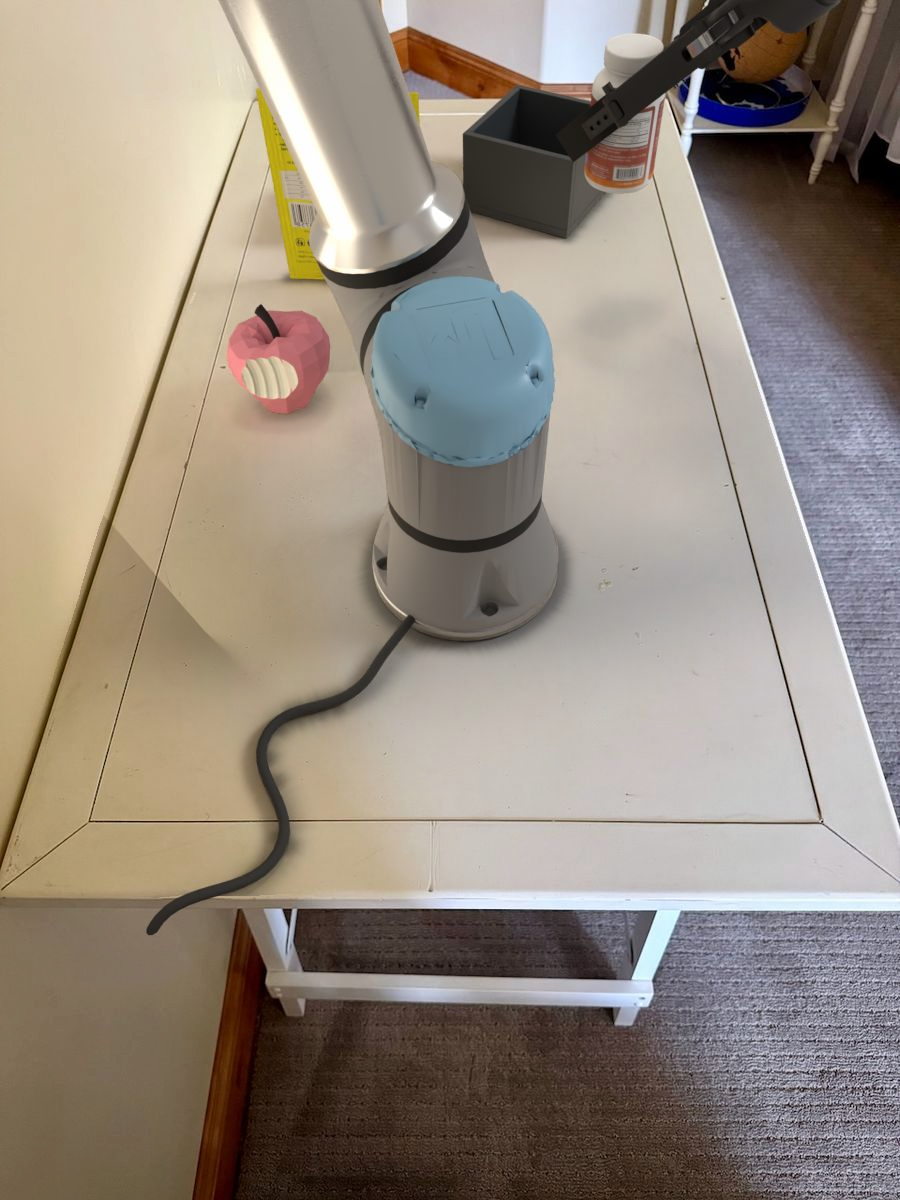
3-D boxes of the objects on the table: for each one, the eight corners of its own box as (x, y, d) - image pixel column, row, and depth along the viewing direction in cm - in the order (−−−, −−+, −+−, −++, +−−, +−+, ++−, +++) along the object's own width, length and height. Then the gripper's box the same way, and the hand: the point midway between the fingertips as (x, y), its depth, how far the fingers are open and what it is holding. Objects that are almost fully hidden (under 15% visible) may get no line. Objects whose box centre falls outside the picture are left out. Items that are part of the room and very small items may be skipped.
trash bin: (566, 238, 104) (573, 161, 96) (463, 209, 108) (462, 133, 101) (613, 184, 111) (622, 108, 103) (514, 158, 115) (517, 84, 108)
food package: (427, 281, 99) (418, 90, 83) (426, 287, 98) (417, 95, 82) (291, 275, 100) (256, 86, 84) (289, 281, 100) (254, 91, 84)
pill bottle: (611, 154, 84) (627, 22, 75) (665, 176, 81) (689, 42, 73) (569, 180, 81) (580, 46, 73) (624, 204, 79) (642, 68, 70)
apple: (229, 427, 85) (204, 340, 77) (254, 369, 90) (233, 281, 82) (327, 436, 84) (312, 348, 76) (347, 376, 90) (335, 288, 82)
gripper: (794, 49, 58) (555, 216, 76) (890, -46, 67) (656, 124, 86) (736, -64, 55) (504, 138, 74) (843, -146, 65) (613, 51, 83)
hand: (586, 130), depth 80 cm, fingers closed on pill bottle, 6 cm apart
